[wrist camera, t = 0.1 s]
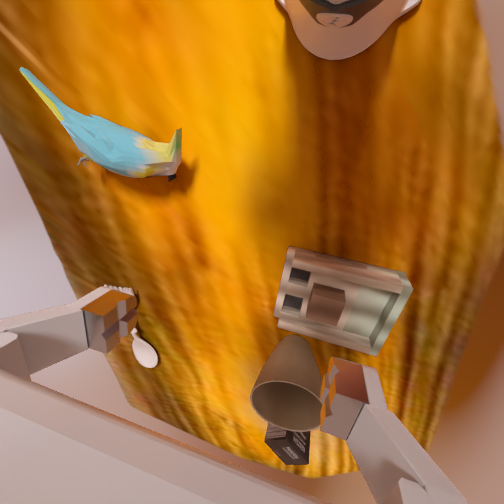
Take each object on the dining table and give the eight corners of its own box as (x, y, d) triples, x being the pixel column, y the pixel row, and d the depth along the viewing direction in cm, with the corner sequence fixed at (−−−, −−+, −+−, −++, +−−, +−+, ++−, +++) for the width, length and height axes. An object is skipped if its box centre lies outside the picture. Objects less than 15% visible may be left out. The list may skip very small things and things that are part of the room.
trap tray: (289, 245, 50) (285, 258, 45) (404, 272, 46) (413, 289, 41) (275, 309, 58) (270, 325, 53) (372, 336, 54) (376, 356, 50)
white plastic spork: (138, 282, 67) (129, 289, 64) (163, 363, 81) (157, 372, 78) (111, 279, 70) (101, 286, 67) (141, 359, 84) (134, 367, 81)
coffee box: (313, 396, 68) (309, 465, 54) (294, 400, 71) (285, 466, 57) (295, 374, 66) (287, 440, 52) (276, 379, 69) (263, 442, 55)
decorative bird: (185, 198, 52) (159, 211, 44) (63, 147, 54) (17, 151, 46) (198, 128, 45) (170, 129, 37) (56, 73, 47) (1, 63, 39)
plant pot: (314, 374, 64) (310, 441, 51) (260, 353, 66) (243, 412, 52) (337, 336, 57) (339, 403, 43) (276, 313, 59) (260, 370, 45)
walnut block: (313, 282, 49) (312, 294, 46) (344, 290, 48) (345, 302, 45) (307, 305, 52) (305, 317, 49) (335, 313, 51) (336, 326, 48)
